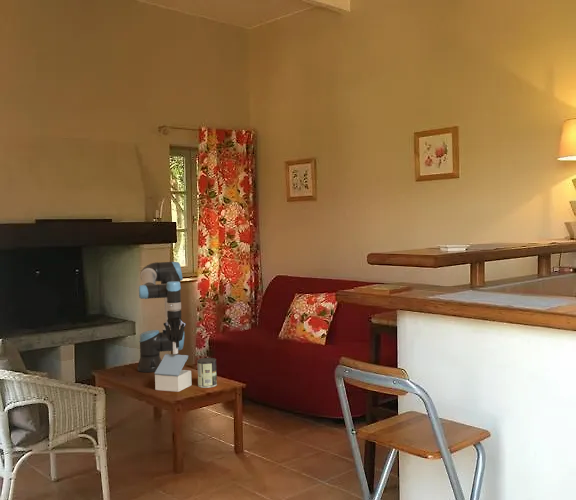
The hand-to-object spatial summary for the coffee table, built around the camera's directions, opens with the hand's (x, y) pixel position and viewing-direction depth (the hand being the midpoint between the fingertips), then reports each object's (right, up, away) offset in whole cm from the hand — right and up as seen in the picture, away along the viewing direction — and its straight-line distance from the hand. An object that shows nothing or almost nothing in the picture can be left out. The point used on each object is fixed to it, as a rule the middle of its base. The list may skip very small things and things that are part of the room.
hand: (175, 353), depth 351 cm
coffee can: (+17, -18, +1) cm, 25 cm away
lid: (-1, -6, -3) cm, 7 cm away
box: (-1, -18, -2) cm, 18 cm away
